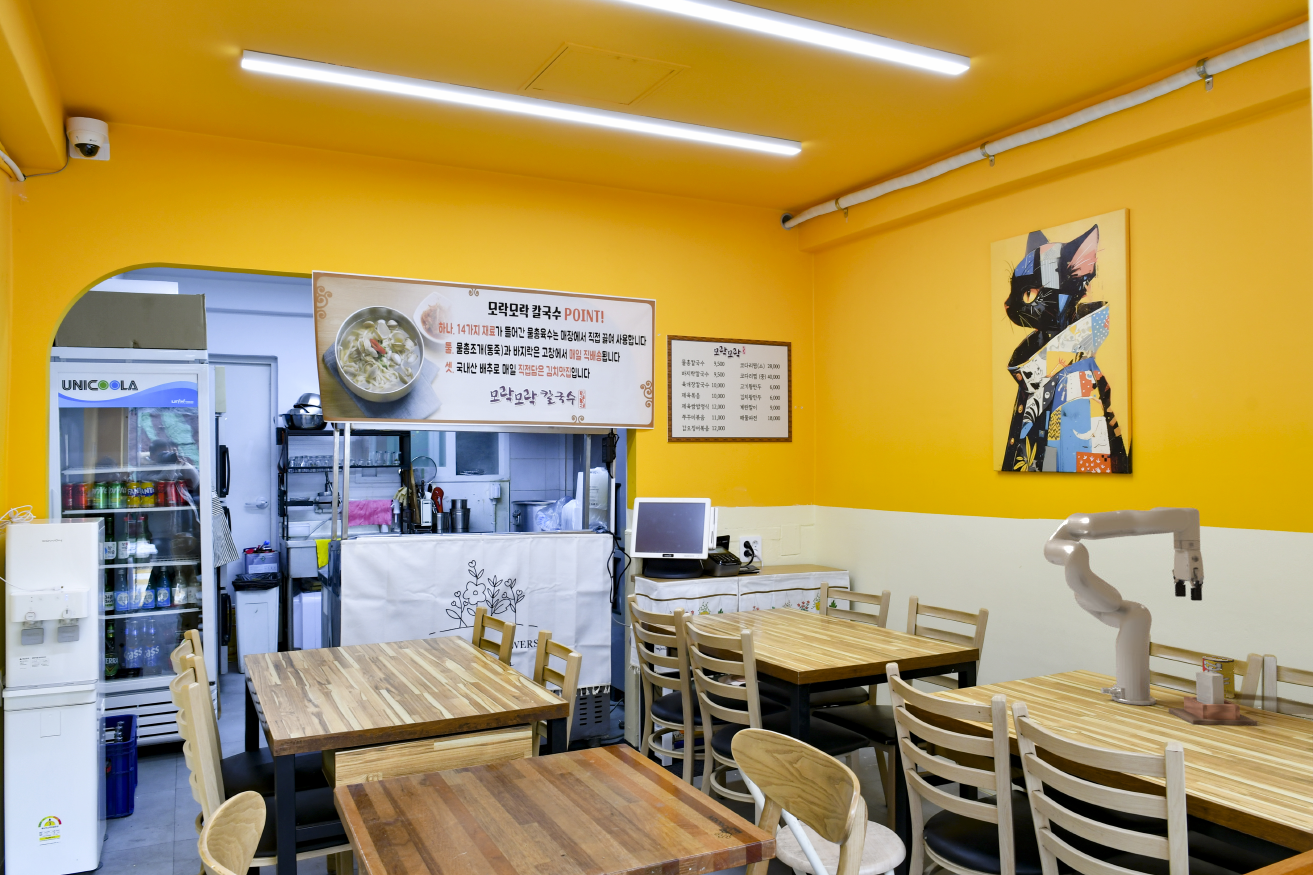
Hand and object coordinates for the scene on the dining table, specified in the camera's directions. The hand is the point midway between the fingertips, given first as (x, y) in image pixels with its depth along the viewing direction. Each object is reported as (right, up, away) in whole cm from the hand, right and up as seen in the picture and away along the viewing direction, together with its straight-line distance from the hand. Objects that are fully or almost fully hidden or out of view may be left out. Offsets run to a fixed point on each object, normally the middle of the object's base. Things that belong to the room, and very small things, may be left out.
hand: (1188, 598), depth 295 cm
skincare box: (-8, -30, -26) cm, 40 cm away
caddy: (-8, -31, -26) cm, 41 cm away
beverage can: (+12, -33, +4) cm, 35 cm away
